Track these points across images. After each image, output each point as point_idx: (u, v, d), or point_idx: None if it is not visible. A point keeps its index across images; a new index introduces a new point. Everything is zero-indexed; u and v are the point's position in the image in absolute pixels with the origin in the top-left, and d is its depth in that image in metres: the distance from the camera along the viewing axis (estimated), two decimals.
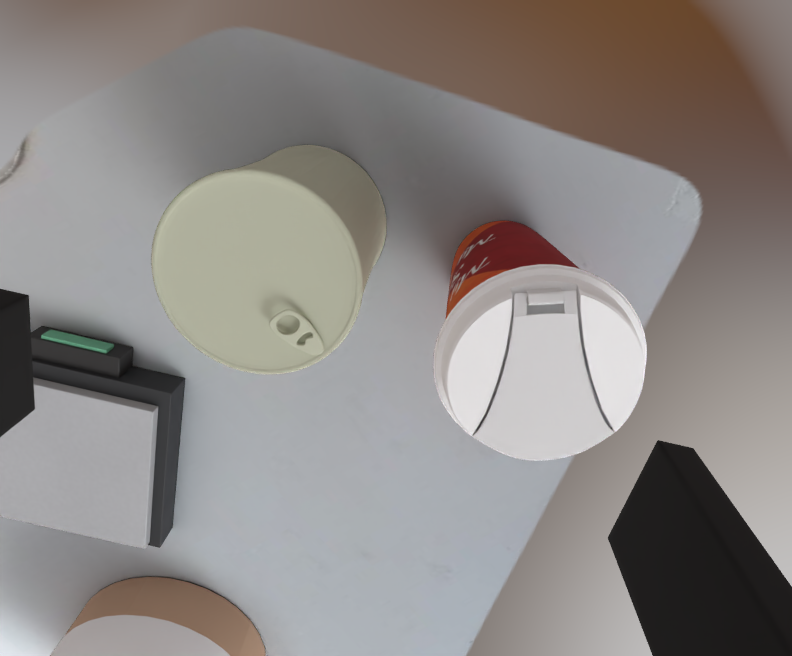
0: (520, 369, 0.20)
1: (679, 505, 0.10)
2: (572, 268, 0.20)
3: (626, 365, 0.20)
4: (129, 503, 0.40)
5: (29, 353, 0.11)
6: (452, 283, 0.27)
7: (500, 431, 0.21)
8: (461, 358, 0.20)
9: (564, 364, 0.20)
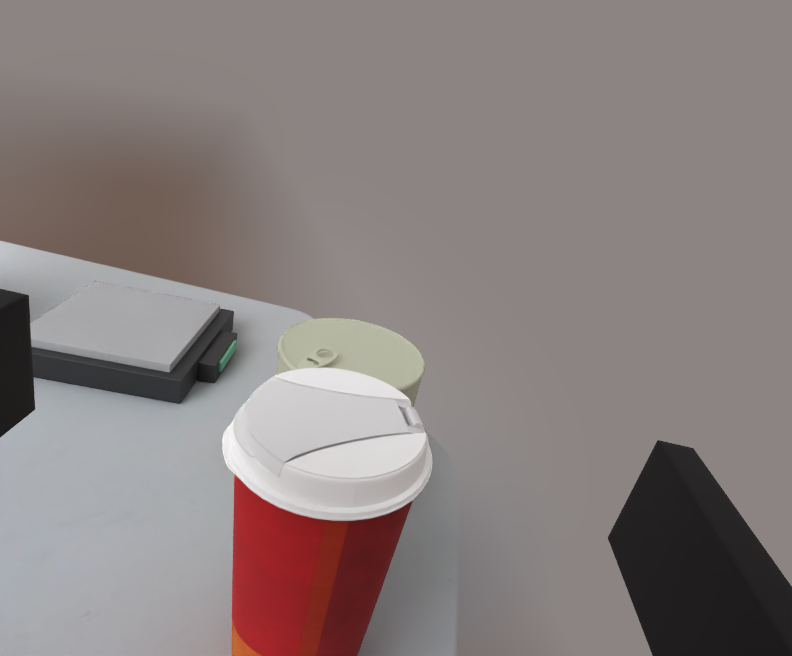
0: (347, 402, 0.23)
1: (679, 505, 0.10)
2: (431, 458, 0.22)
3: (368, 464, 0.19)
4: (74, 337, 0.45)
5: (29, 353, 0.11)
6: None
7: (280, 391, 0.22)
8: (350, 374, 0.24)
9: (357, 428, 0.21)
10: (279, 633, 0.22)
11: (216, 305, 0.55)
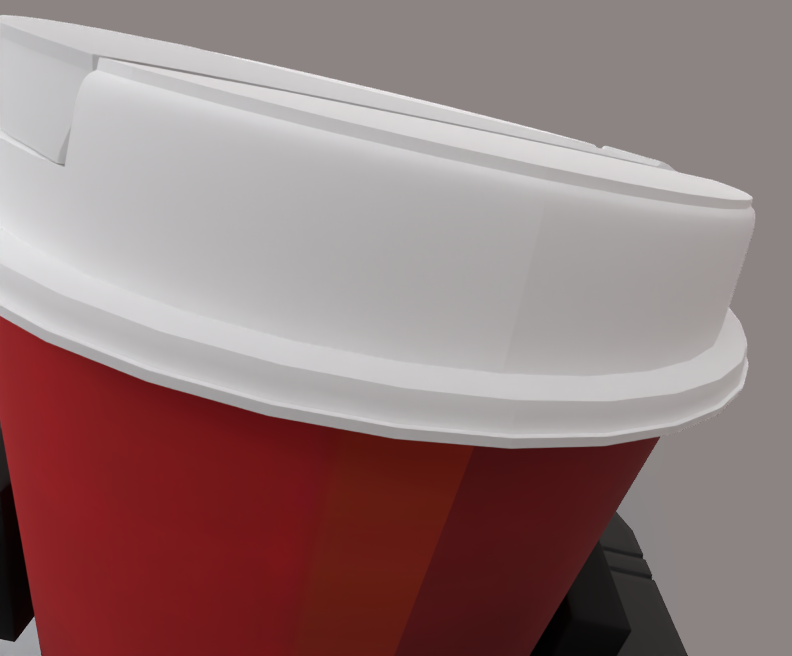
0: (420, 104, 0.07)
1: None
2: None
3: (577, 163, 0.04)
4: None
5: None
6: None
7: (200, 52, 0.07)
8: (416, 99, 0.09)
9: None
10: None
11: None
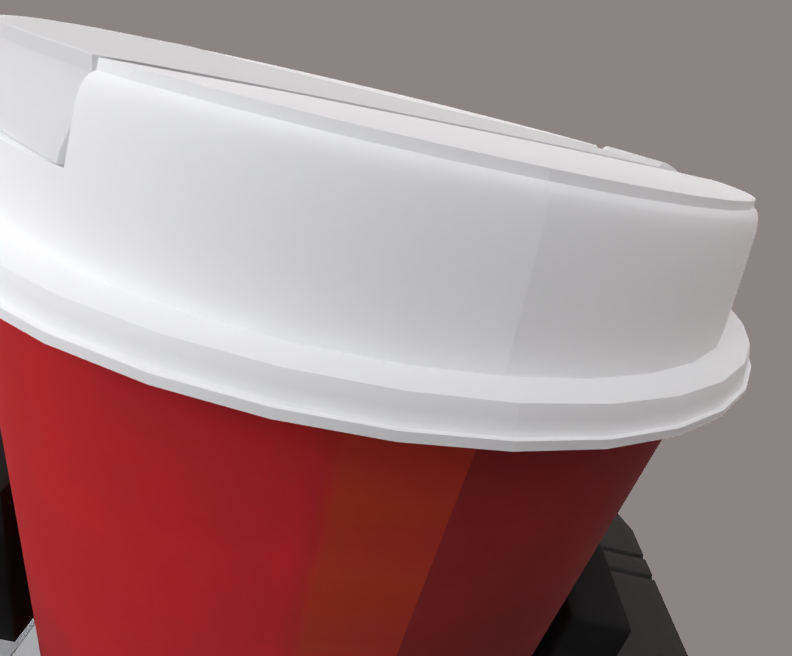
0: (421, 105, 0.07)
1: None
2: None
3: (580, 165, 0.04)
4: None
5: None
6: None
7: (200, 52, 0.07)
8: (417, 99, 0.09)
9: None
10: None
11: None
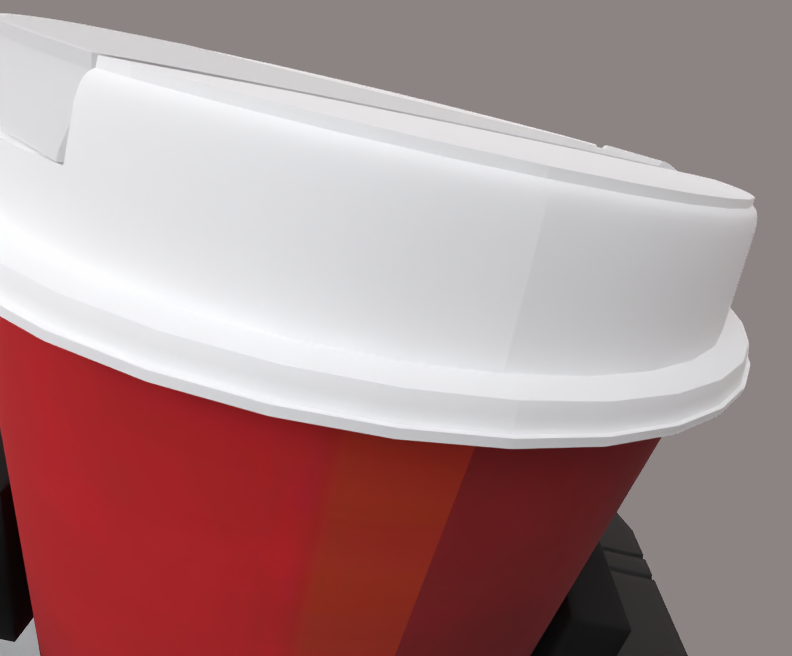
0: (421, 104, 0.07)
1: None
2: None
3: (578, 162, 0.04)
4: None
5: None
6: None
7: (199, 51, 0.07)
8: (416, 98, 0.09)
9: None
10: None
11: None
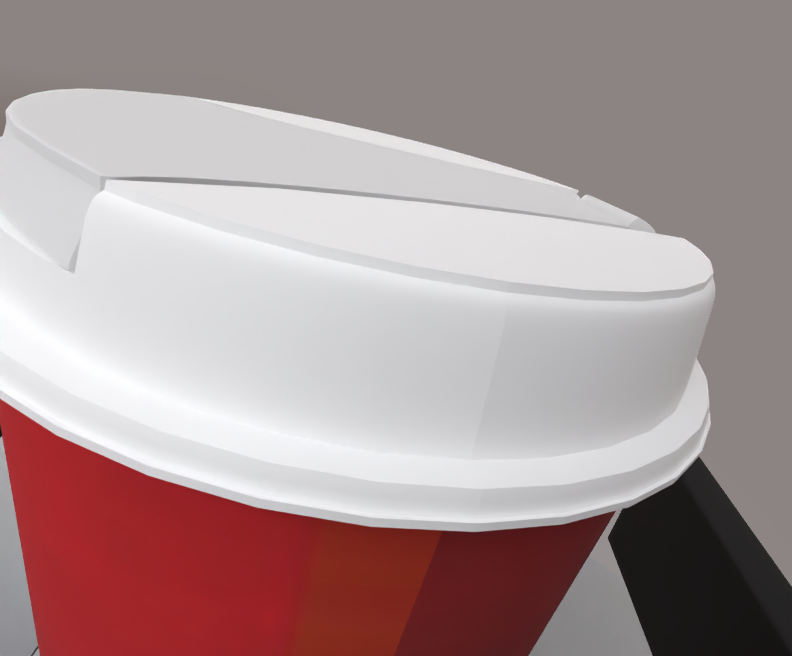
0: (409, 158, 0.07)
1: (679, 505, 0.10)
2: None
3: (542, 258, 0.04)
4: None
5: None
6: None
7: (198, 108, 0.07)
8: (407, 141, 0.09)
9: None
10: None
11: None
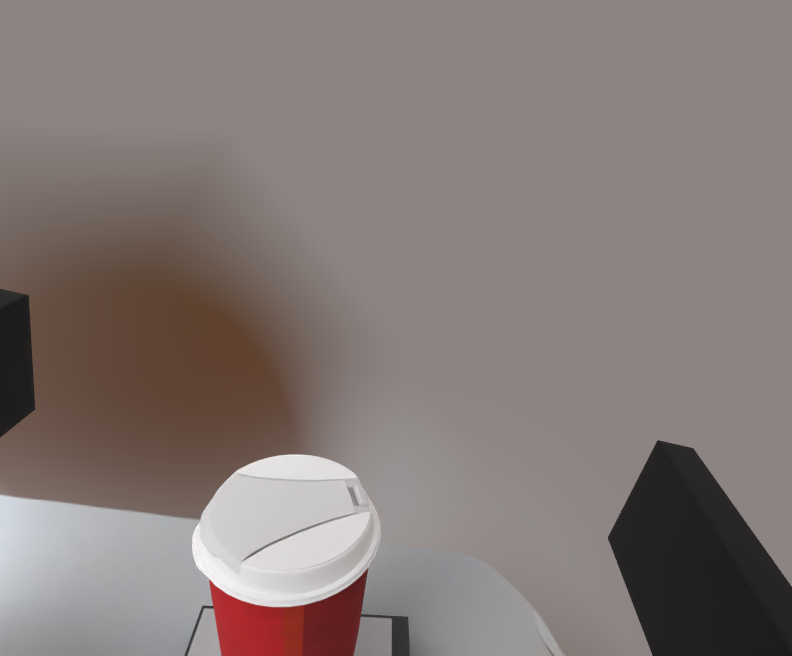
0: (300, 489, 0.26)
1: (679, 504, 0.10)
2: (380, 530, 0.25)
3: (316, 552, 0.22)
4: None
5: (29, 353, 0.11)
6: None
7: (240, 487, 0.25)
8: (304, 459, 0.28)
9: (308, 515, 0.24)
10: None
11: (388, 622, 0.36)
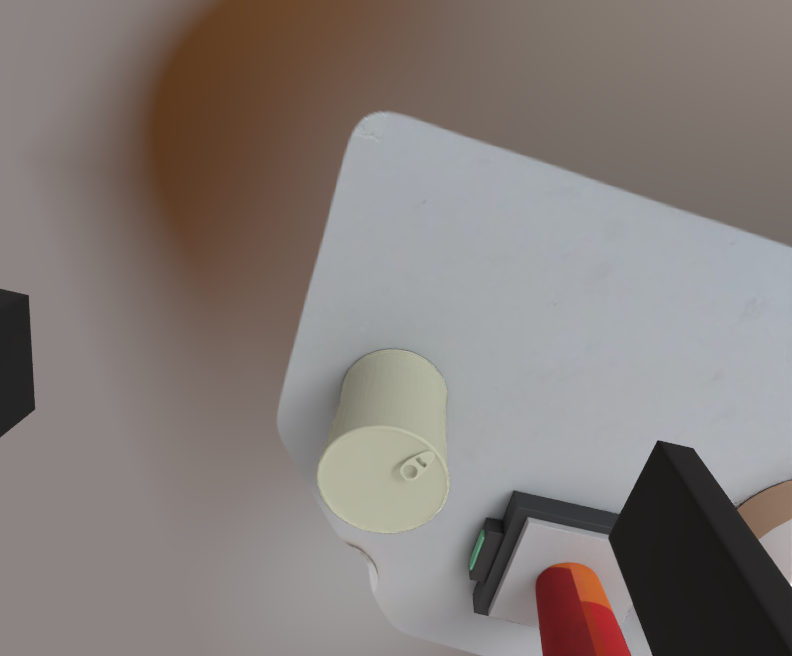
0: None
1: (679, 505, 0.10)
2: None
3: None
4: (612, 553, 0.50)
5: (29, 353, 0.11)
6: None
7: None
8: None
9: None
10: (606, 624, 0.44)
11: (492, 615, 0.54)
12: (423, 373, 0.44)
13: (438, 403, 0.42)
